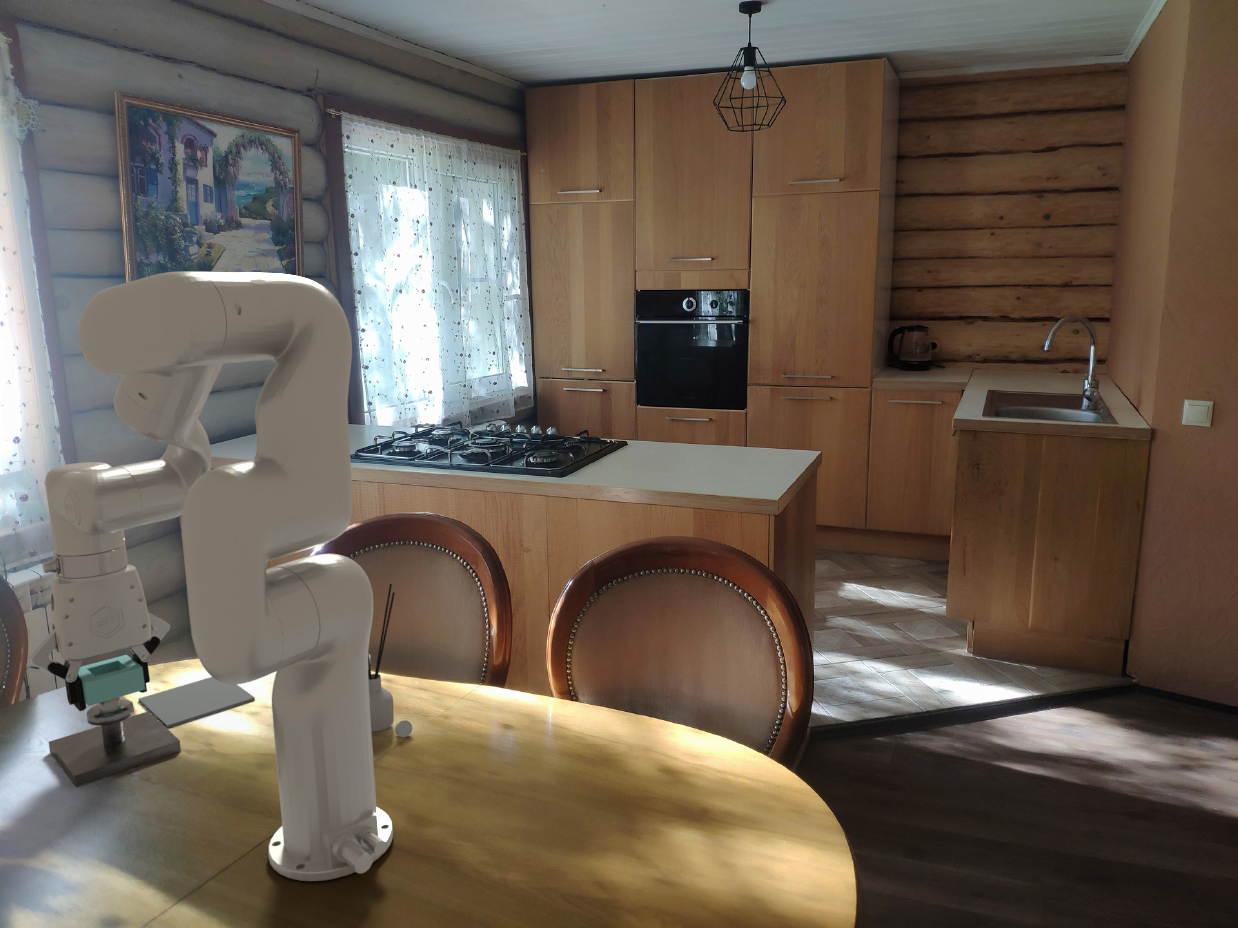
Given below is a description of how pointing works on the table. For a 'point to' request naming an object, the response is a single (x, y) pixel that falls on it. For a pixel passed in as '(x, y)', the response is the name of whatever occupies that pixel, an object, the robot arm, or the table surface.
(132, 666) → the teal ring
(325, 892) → the table surface
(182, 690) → the slate mat
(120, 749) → the ring stand
